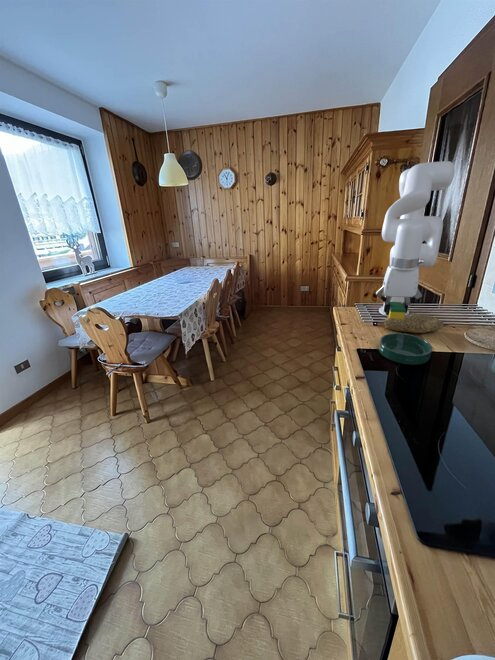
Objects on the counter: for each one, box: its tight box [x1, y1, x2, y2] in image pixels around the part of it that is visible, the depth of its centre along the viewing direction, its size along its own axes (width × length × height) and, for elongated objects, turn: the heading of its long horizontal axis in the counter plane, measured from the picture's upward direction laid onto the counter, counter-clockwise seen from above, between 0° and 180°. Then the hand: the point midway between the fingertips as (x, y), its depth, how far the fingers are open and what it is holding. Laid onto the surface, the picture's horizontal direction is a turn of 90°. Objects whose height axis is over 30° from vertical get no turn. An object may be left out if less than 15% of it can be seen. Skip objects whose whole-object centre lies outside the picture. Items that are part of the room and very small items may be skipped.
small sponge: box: [387, 302, 406, 319], centre depth 99 cm, size 7×4×4 cm, turn 165°
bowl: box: [377, 332, 433, 366], centre depth 99 cm, size 16×16×4 cm
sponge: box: [383, 313, 445, 334], centre depth 114 cm, size 13×8×20 cm
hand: (394, 313), depth 100 cm, fingers closed on small sponge, 4 cm apart
